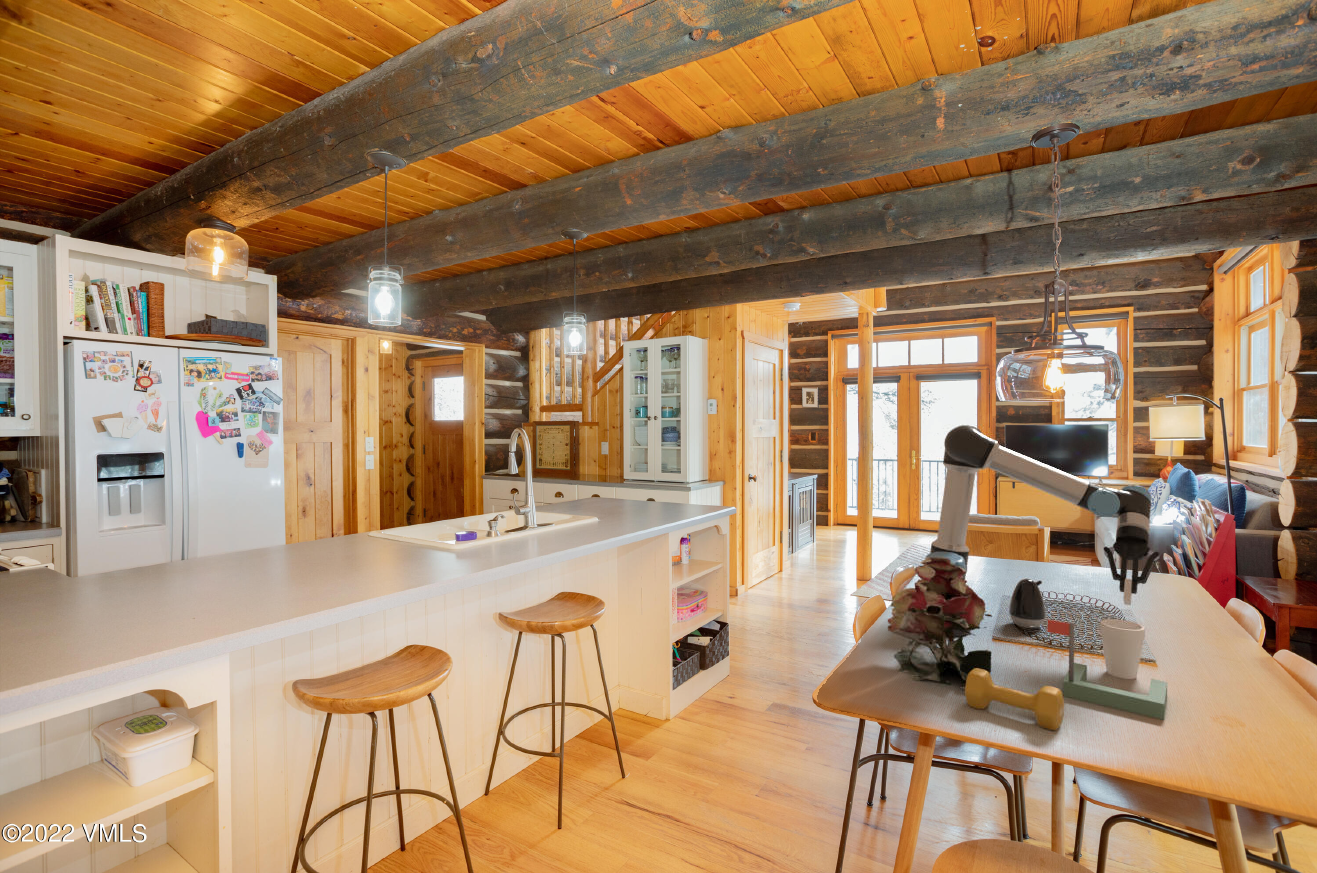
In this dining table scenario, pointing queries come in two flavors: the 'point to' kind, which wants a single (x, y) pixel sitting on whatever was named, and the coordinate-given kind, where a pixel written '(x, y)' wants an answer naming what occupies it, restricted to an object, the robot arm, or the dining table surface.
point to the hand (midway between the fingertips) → (1127, 602)
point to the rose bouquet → (938, 622)
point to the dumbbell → (1016, 698)
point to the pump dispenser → (1027, 604)
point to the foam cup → (1122, 647)
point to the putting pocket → (1104, 695)
